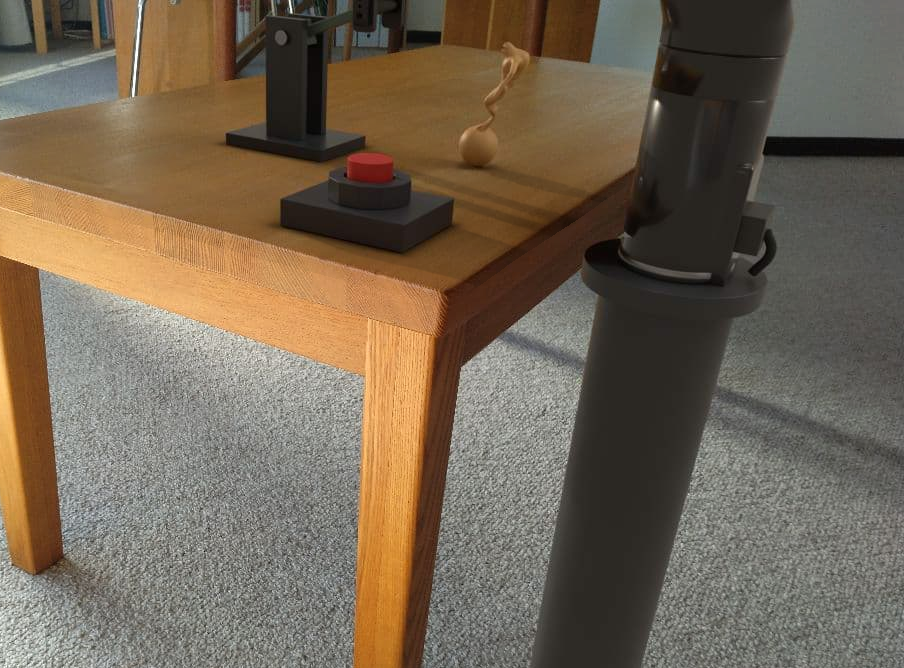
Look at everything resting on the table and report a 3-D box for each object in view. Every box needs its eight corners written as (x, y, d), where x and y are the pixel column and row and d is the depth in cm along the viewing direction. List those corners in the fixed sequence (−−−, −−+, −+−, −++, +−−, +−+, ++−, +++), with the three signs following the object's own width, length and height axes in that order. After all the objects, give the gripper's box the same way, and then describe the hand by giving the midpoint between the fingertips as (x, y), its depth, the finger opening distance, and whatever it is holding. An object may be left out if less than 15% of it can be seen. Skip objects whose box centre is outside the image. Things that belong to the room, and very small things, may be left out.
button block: (452, 224, 74) (456, 176, 72) (402, 253, 67) (406, 200, 65) (337, 200, 78) (339, 154, 76) (279, 225, 71) (279, 175, 69)
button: (400, 179, 71) (401, 157, 70) (378, 189, 68) (380, 166, 68) (361, 172, 73) (362, 150, 72) (338, 181, 70) (339, 158, 69)
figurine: (461, 154, 96) (474, 34, 90) (518, 160, 95) (534, 39, 89) (451, 173, 89) (464, 43, 83) (512, 179, 88) (529, 48, 82)
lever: (401, 14, 87) (395, -12, 86) (377, 17, 83) (370, -10, 83) (303, 49, 94) (296, 25, 93) (276, 53, 90) (269, 29, 89)
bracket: (365, 146, 97) (371, 19, 91) (321, 162, 90) (324, 25, 84) (273, 130, 102) (273, 8, 96) (225, 144, 95) (222, 13, 89)
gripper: (387, -190, 71) (377, 39, 79) (460, -171, 82) (445, 28, 90) (307, -189, 74) (305, 32, 82) (388, -171, 85) (380, 22, 93)
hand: (378, 29), depth 86 cm, fingers closed on lever, 5 cm apart
